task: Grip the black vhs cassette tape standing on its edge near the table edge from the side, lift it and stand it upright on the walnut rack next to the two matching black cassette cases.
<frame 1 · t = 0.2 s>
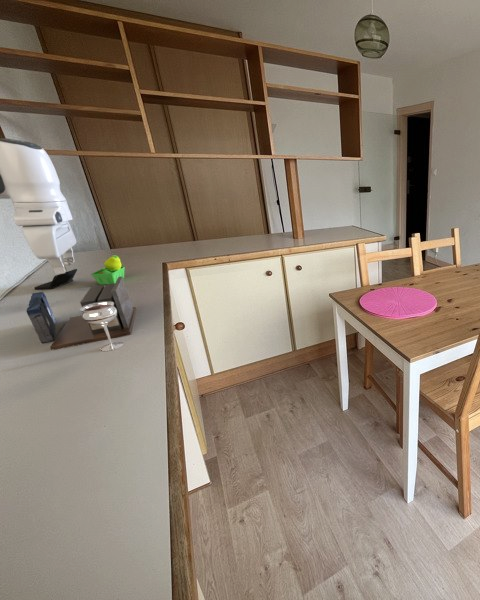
hand: (66, 268, 81), 21 cm above the counter, tool pointing down, fingers open, 8 cm apart
wineglass: (112, 347, 86), on the counter
fruit basket: (114, 281, 136), on the counter
handheld gaming console: (59, 285, 130), on the counter
vhs cassette tape: (49, 331, 93), on the counter
book rack: (99, 327, 96), on the counter
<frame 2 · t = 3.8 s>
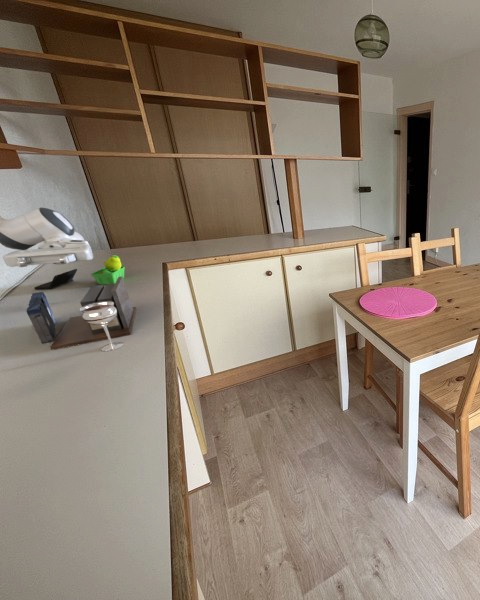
hand: (42, 262, 98), 17 cm above the counter, tool horizontal, fingers open, 8 cm apart
nothing on the counter moved.
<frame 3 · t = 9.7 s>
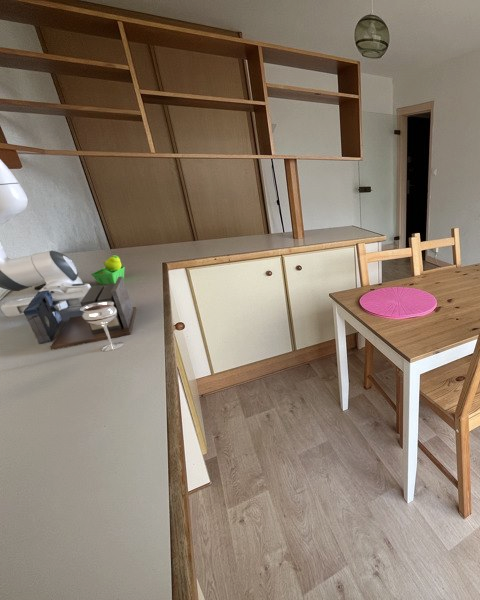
hand: (45, 310, 93), 6 cm above the counter, tool horizontal, fingers closed on vhs cassette tape, 2 cm apart
vhs cassette tape: (51, 331, 93), on the counter, touching gripper
everything else where it was.
when the fingers open (6 cm above the counter, at t = 17.1 s): vhs cassette tape stays where it is, resting on book rack.
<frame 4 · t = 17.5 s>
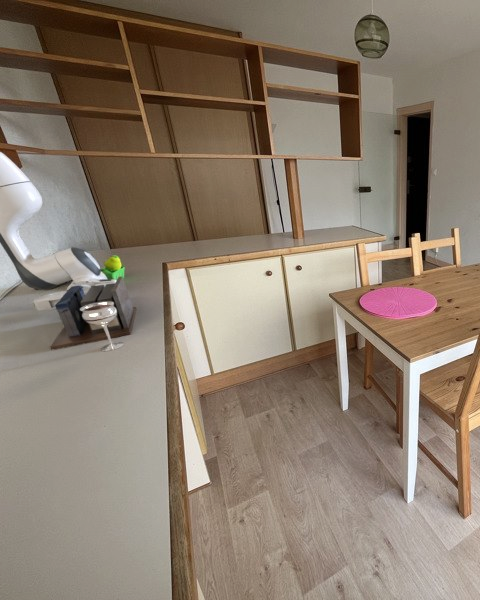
hand: (76, 305, 95), 6 cm above the counter, tool horizontal, fingers open, 4 cm apart
vhs cassette tape: (81, 325, 95), point 1 cm above the counter, touching book rack
everything else where it was.
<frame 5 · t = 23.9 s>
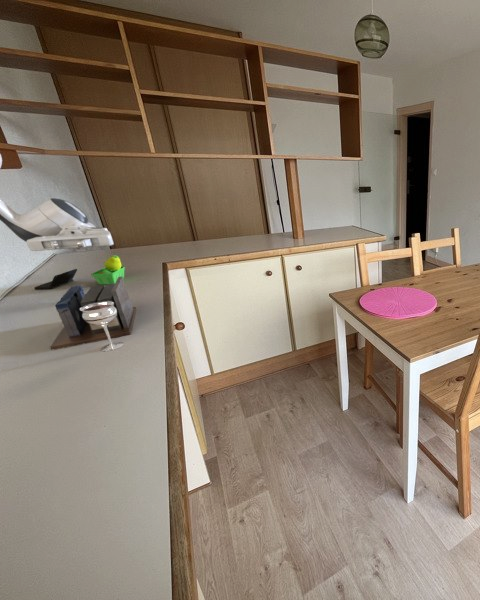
hand: (68, 245, 99), 22 cm above the counter, tool horizontal, fingers open, 4 cm apart
nothing on the counter moved.
at the end: vhs cassette tape 0.1 cm from the target spot, point 0.8 cm above the counter; vhs cassette tape tilted 0°; the gripper is holding nothing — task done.
